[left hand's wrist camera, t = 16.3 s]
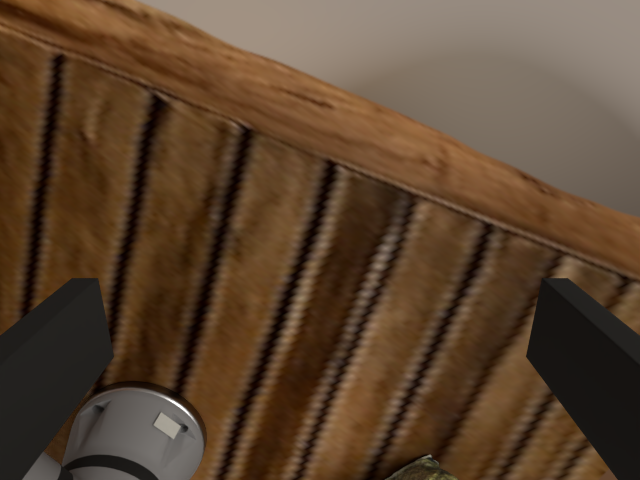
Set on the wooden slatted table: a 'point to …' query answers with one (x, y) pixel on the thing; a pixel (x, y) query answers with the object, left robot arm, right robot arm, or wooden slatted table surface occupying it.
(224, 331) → the wooden slatted table surface
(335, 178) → the wooden slatted table surface
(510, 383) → the wooden slatted table surface
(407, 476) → the fossil
